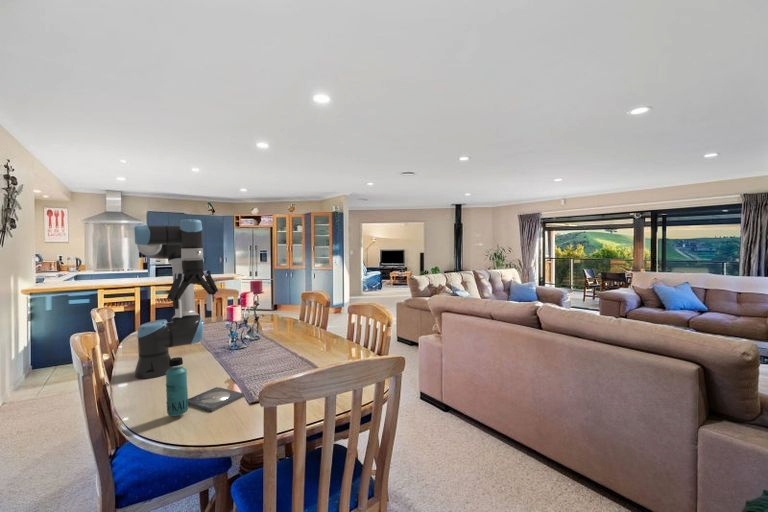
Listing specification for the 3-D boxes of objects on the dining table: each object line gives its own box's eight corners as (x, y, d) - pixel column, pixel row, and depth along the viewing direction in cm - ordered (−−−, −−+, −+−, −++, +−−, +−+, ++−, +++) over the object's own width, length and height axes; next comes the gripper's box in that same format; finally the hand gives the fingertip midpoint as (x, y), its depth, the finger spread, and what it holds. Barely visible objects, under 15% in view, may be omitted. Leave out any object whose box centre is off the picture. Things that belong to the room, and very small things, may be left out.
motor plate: (183, 403, 136) (183, 400, 136) (216, 389, 148) (216, 386, 148) (211, 412, 129) (211, 408, 129) (244, 396, 141) (244, 393, 141)
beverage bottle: (172, 412, 129) (169, 355, 128) (192, 411, 130) (189, 354, 129) (163, 421, 123) (160, 361, 122) (184, 420, 123) (181, 360, 122)
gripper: (167, 261, 131) (170, 321, 132) (225, 257, 153) (227, 308, 154) (154, 261, 134) (157, 319, 135) (213, 257, 157) (215, 307, 158)
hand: (195, 313), depth 145 cm, fingers open, 13 cm apart
